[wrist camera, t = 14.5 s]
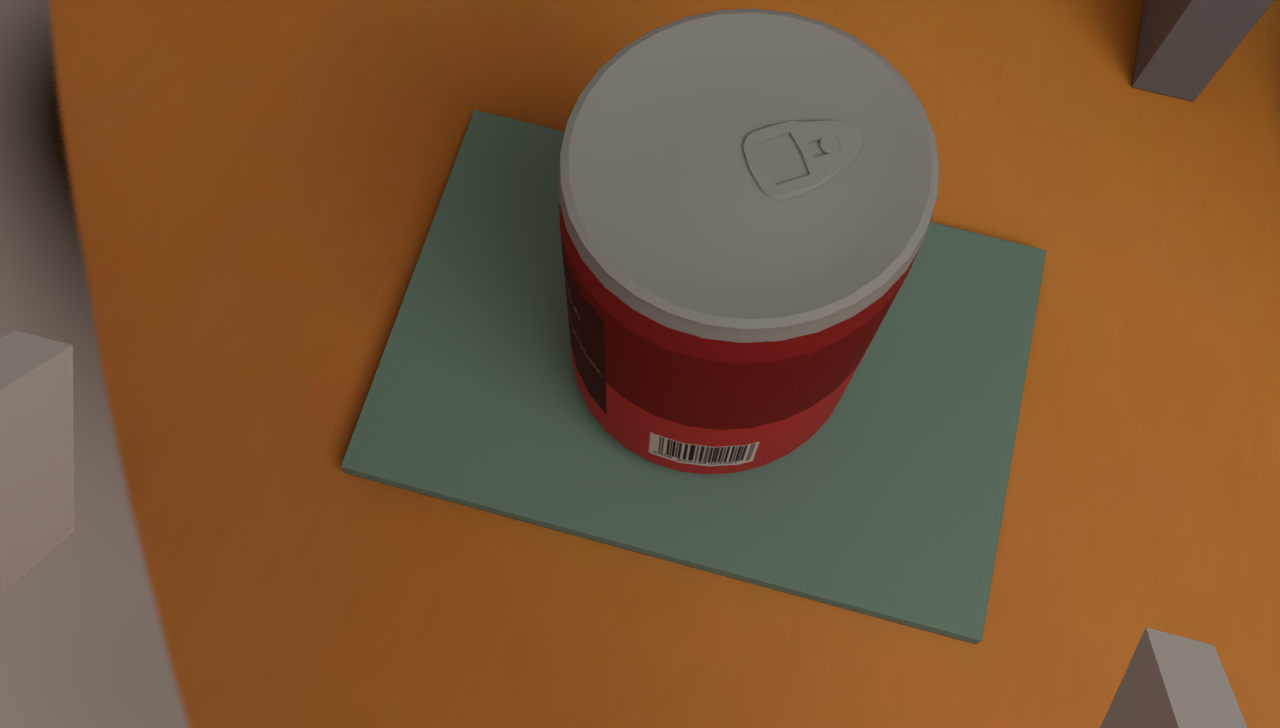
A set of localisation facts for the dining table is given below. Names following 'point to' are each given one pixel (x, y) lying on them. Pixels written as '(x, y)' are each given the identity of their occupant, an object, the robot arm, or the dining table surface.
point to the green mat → (715, 503)
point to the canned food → (736, 231)
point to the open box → (1189, 42)
